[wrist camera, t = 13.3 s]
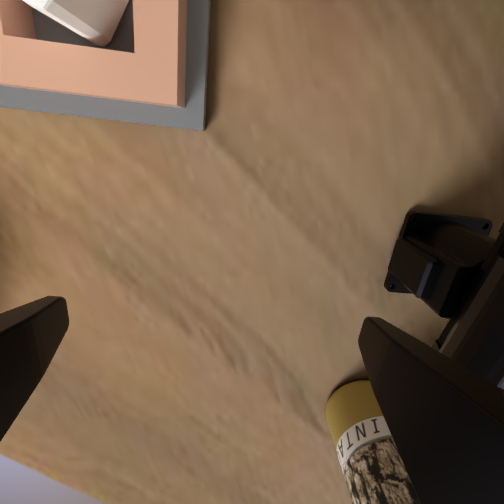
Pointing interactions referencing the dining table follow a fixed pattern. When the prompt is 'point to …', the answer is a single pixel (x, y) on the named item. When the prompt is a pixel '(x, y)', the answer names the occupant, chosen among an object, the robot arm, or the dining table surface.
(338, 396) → the bark log cylinder
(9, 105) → the dock
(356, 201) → the dining table surface
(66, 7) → the pepper shaker
